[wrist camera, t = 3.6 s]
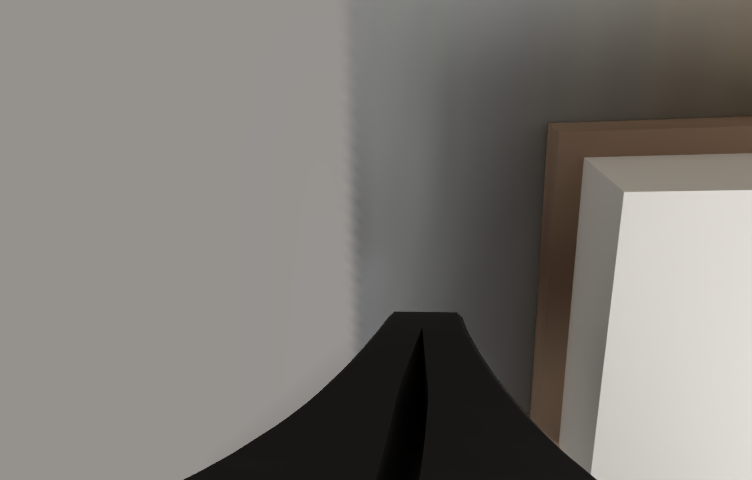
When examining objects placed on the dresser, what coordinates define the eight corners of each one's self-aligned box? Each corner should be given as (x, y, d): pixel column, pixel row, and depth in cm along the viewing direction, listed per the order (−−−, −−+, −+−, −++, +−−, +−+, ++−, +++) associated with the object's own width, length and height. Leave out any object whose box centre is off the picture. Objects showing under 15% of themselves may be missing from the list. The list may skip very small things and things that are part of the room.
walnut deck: (819, 438, 13) (854, 475, 12) (529, 425, 14) (536, 458, 13) (920, 110, 10) (979, 118, 9) (548, 123, 11) (558, 131, 10)
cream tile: (835, 457, 12) (930, 560, 9) (558, 444, 13) (583, 535, 10) (937, 148, 9) (1100, 184, 7) (584, 157, 10) (624, 191, 8)
